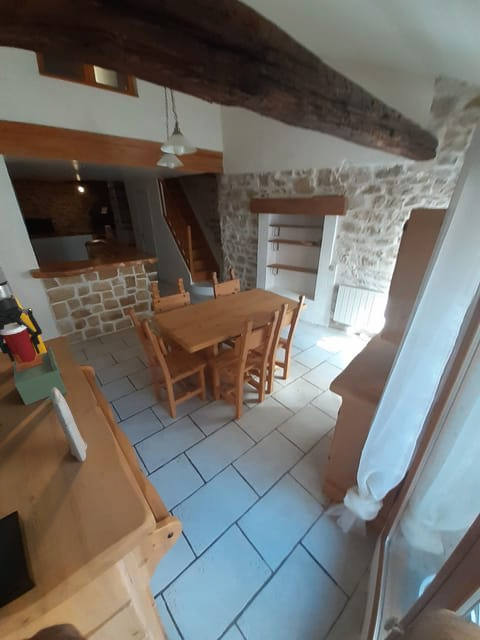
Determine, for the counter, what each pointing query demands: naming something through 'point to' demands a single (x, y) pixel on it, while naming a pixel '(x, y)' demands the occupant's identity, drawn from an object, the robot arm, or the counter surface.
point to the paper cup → (19, 342)
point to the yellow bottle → (29, 323)
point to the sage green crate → (38, 378)
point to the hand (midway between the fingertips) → (26, 355)
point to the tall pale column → (68, 425)
